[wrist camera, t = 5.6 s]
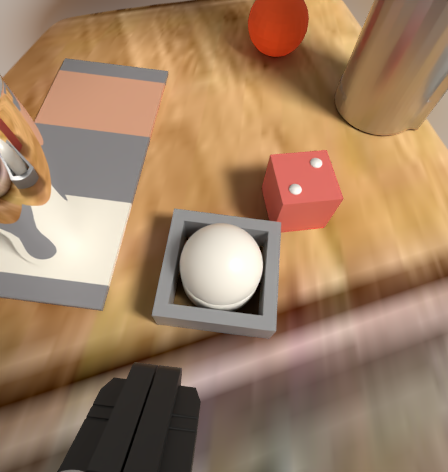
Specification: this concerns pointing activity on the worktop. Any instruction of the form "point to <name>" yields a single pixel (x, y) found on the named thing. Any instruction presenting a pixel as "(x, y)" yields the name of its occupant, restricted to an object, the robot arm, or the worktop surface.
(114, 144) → the game board
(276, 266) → the dome base
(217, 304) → the dome cap
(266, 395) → the worktop surface
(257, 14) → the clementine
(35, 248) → the beer glass
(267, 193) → the die
